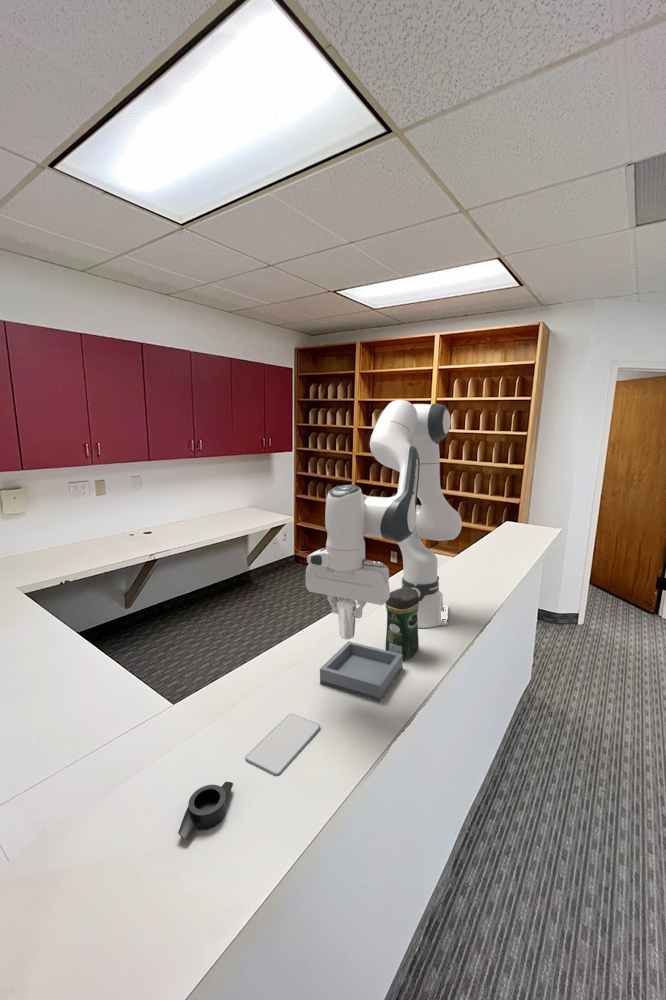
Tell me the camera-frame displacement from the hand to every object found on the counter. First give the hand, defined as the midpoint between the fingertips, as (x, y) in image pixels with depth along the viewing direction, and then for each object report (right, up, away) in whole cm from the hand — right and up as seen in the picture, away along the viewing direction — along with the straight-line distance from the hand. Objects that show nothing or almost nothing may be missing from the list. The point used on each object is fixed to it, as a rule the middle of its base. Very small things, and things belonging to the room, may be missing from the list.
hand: (347, 614), depth 95 cm
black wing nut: (-24, -25, -28) cm, 45 cm away
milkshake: (0, -5, +1) cm, 5 cm away
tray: (+4, -19, +10) cm, 22 cm away
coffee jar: (+16, -17, +22) cm, 32 cm away
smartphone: (-13, -23, -13) cm, 29 cm away
